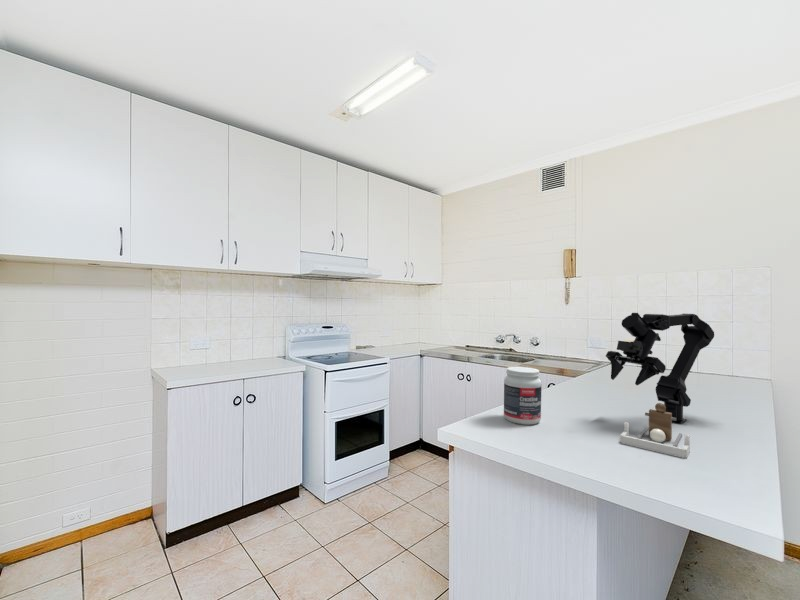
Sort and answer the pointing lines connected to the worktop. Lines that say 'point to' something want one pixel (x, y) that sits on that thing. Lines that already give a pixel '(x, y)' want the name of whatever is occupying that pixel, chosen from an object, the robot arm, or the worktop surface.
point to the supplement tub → (522, 395)
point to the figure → (661, 420)
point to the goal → (655, 444)
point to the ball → (657, 435)
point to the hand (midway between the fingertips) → (623, 381)
